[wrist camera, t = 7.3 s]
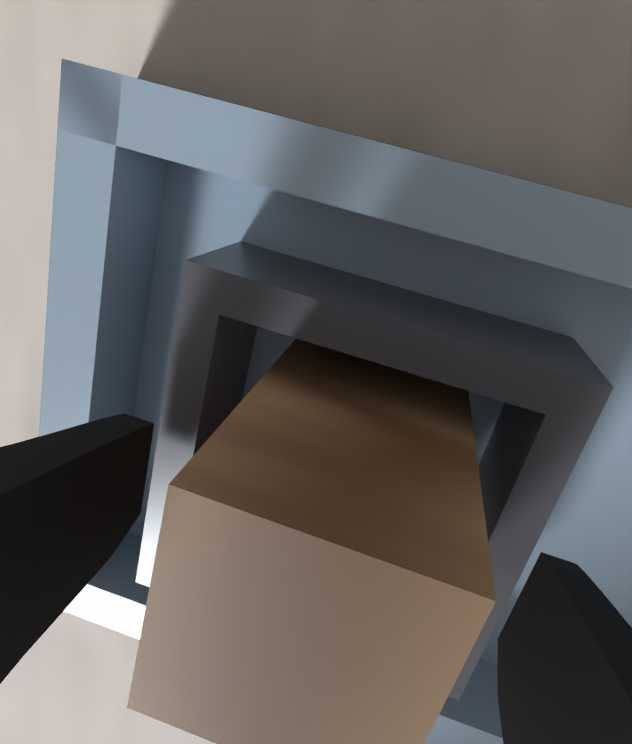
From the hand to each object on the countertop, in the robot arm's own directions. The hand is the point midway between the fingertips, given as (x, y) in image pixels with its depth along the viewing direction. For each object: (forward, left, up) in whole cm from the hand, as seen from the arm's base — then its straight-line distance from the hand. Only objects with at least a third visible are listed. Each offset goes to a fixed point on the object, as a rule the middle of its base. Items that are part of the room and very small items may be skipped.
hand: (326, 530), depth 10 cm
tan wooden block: (0, 0, -4) cm, 4 cm away
